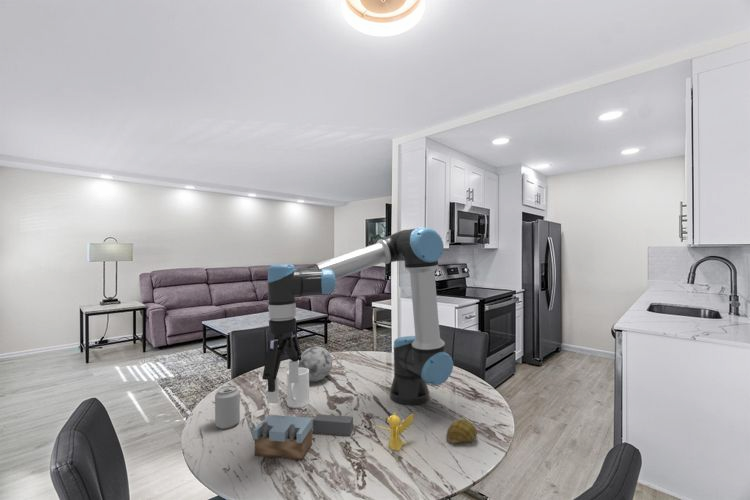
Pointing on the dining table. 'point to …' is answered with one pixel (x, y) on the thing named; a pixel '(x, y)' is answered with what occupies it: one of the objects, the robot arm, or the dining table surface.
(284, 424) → the door
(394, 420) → the figurine
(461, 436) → the seashell
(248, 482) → the dining table surface
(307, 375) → the mug
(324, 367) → the stone
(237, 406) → the can
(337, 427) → the gray rectangular block
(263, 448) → the carcass
